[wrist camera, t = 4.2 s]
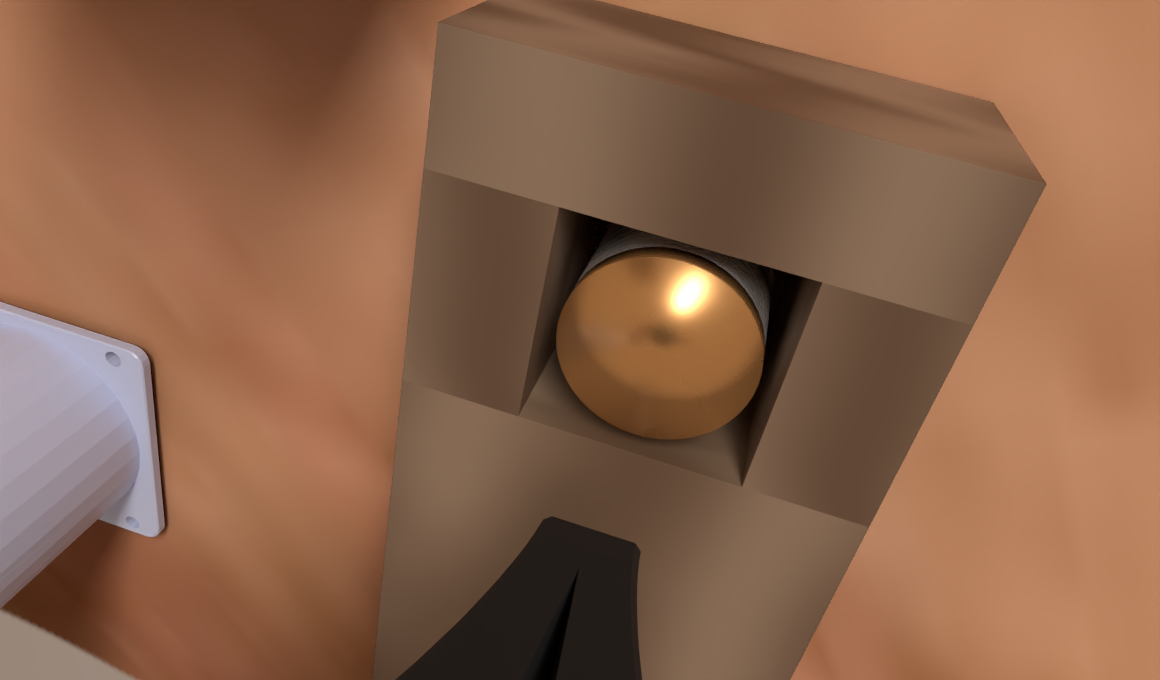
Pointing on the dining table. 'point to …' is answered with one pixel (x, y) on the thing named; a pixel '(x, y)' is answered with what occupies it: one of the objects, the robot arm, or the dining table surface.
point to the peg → (664, 334)
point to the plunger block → (707, 220)
